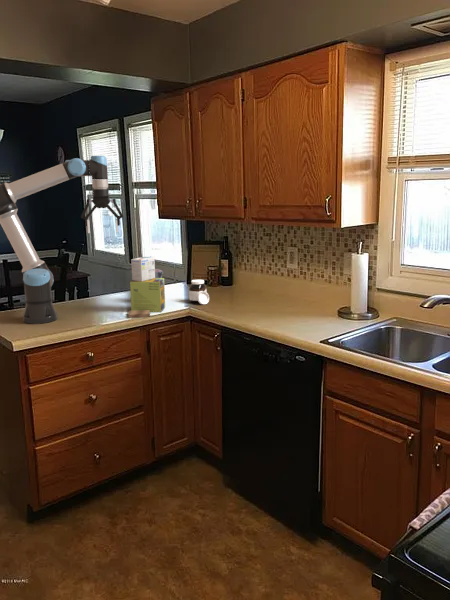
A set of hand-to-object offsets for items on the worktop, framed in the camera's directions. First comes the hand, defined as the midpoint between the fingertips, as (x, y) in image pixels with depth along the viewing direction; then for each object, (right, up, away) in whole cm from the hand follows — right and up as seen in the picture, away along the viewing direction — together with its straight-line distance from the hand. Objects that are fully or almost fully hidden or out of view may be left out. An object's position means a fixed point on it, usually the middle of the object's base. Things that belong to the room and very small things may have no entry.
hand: (103, 232), depth 259 cm
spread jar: (+47, -35, +21) cm, 62 cm away
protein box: (+22, -38, +6) cm, 44 cm away
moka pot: (+21, -34, +23) cm, 47 cm away
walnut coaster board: (+19, -40, -5) cm, 45 cm away
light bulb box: (+19, -23, +4) cm, 30 cm away
